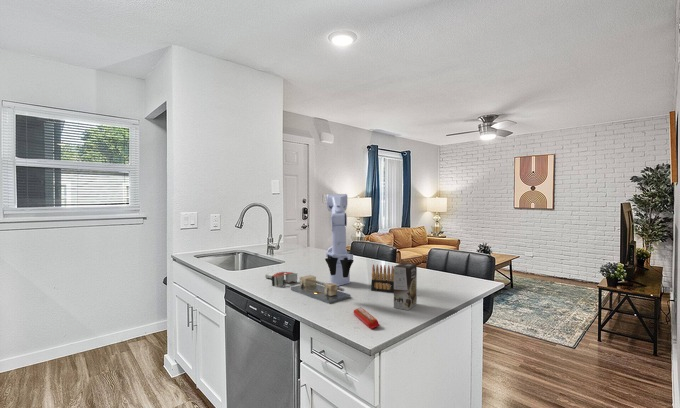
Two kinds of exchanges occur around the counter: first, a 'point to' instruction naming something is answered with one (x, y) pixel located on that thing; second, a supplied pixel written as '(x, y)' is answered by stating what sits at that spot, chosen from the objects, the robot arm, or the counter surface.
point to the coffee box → (405, 286)
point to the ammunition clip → (382, 279)
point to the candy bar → (366, 318)
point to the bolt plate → (320, 293)
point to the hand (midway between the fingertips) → (339, 276)
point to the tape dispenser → (281, 278)
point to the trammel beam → (313, 282)
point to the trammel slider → (330, 289)
